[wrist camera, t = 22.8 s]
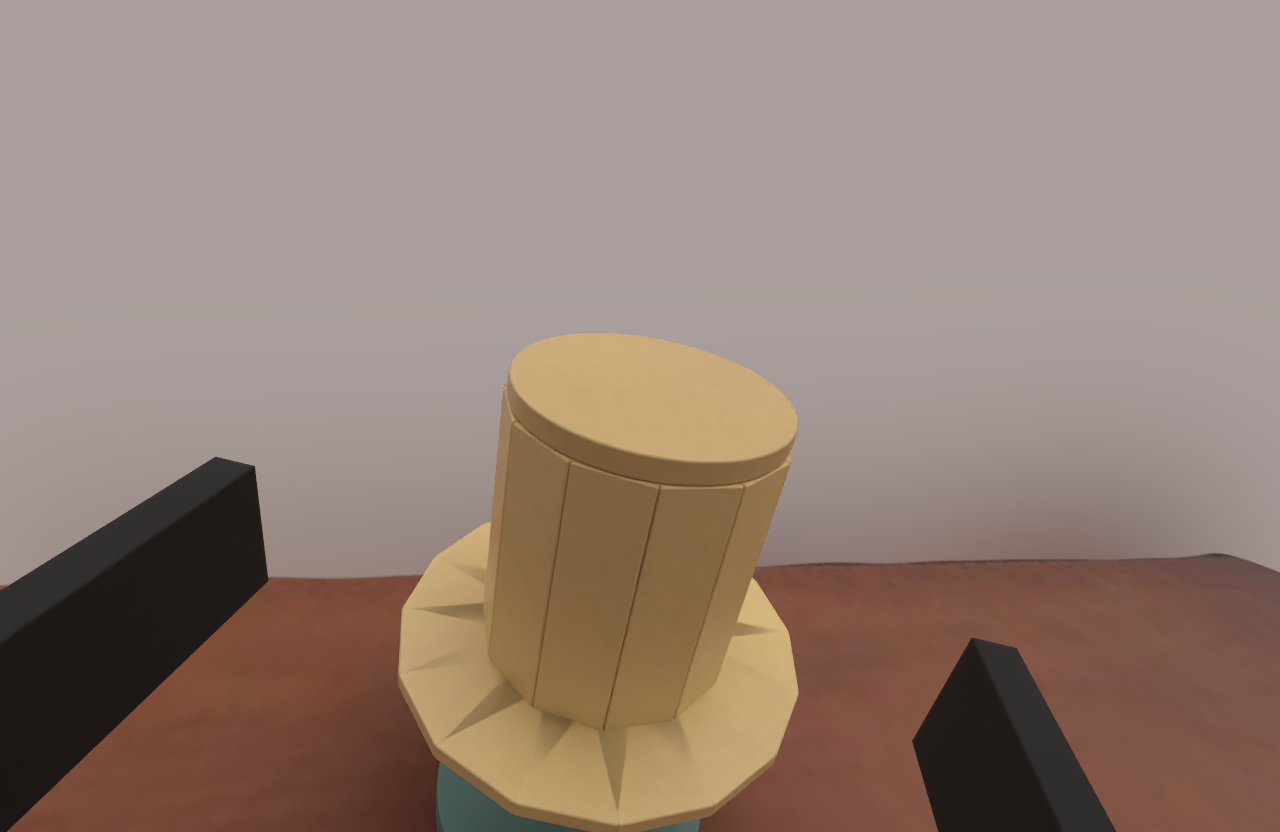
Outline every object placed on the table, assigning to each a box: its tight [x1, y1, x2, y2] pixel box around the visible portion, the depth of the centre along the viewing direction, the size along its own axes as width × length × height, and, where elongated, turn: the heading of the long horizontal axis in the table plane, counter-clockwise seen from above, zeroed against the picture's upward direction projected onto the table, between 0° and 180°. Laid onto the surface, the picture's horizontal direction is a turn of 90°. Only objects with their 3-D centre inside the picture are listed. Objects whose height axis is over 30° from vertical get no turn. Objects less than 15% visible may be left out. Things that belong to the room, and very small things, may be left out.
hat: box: [398, 333, 798, 832], centre depth 22 cm, size 15×15×11 cm
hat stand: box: [435, 762, 701, 832], centre depth 24 cm, size 12×12×20 cm
